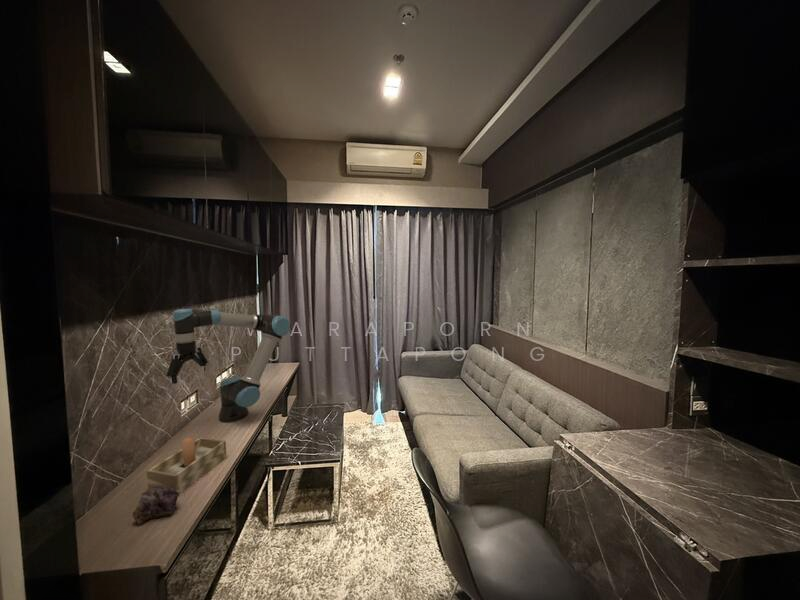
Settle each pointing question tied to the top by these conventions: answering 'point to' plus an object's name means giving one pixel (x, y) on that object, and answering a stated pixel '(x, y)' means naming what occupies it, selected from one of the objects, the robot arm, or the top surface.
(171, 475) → the box
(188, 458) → the peg
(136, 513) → the rock
